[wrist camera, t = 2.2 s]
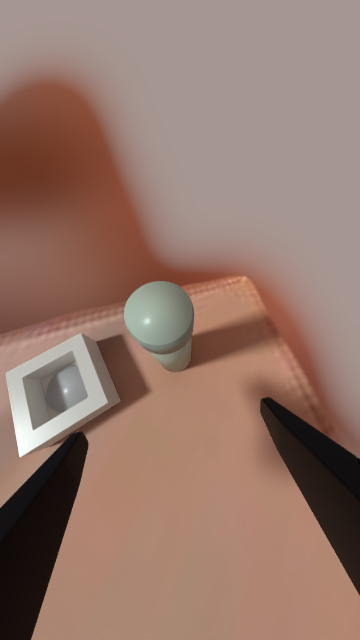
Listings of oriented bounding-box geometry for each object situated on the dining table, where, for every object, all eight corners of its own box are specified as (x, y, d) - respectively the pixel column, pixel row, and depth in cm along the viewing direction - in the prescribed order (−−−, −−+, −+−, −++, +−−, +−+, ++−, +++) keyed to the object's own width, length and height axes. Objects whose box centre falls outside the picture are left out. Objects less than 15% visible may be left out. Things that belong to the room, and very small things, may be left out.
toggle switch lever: (197, 349, 22) (206, 295, 10) (181, 379, 21) (171, 358, 9) (169, 334, 23) (147, 270, 11) (152, 362, 22) (107, 323, 10)
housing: (120, 401, 20) (107, 402, 17) (48, 446, 19) (19, 457, 16) (95, 341, 23) (80, 332, 20) (32, 376, 22) (5, 373, 19)
